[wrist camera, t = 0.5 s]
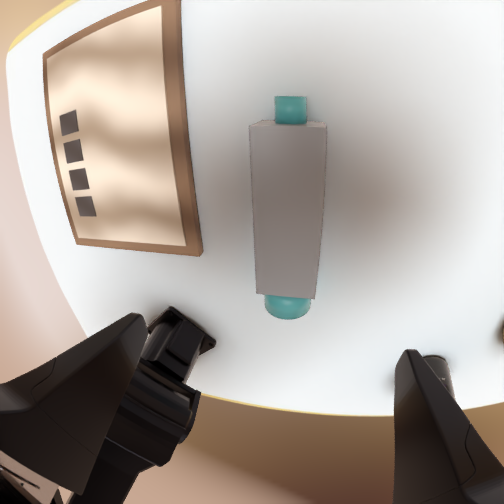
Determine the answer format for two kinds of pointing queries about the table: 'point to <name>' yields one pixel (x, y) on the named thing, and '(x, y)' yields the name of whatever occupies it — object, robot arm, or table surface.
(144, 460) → the robot arm
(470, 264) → the table surface
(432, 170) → the table surface
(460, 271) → the table surface
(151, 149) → the brown framed board
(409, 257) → the table surface
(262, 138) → the marker
